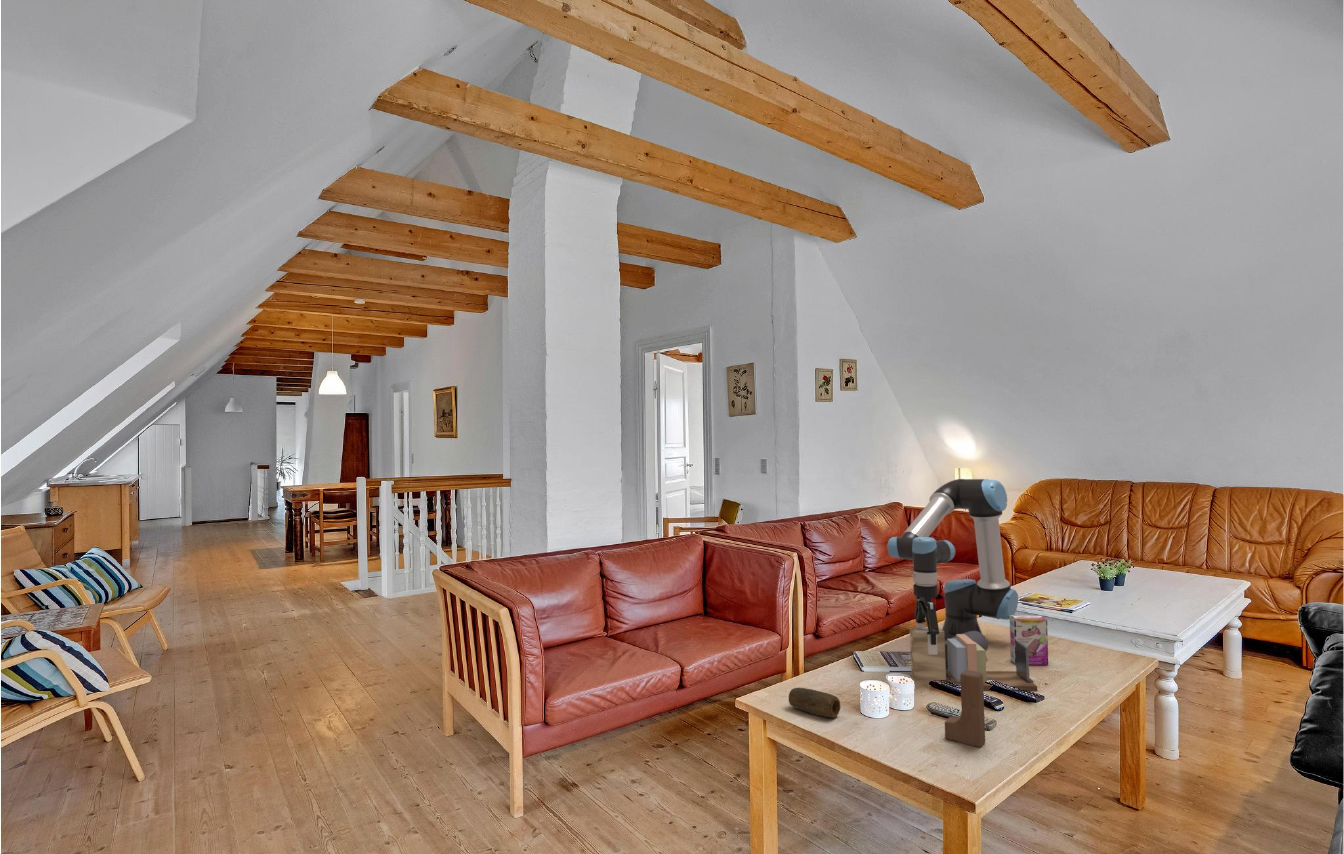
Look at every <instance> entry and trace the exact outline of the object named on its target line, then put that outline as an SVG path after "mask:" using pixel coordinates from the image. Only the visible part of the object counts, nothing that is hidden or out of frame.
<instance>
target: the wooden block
mask: <svg viewBox="0 0 1344 854" xmlns="http://www.w3.org/2000/svg"><path fill="white" fill-rule="evenodd" d="M960 679H961V690H960V697H961V698H960V701H961V702H960V704H961V706H960V707H961V713H960V716H959V717H957V716H949V717H948V718H947V719H946V720H945V721H944V738H945V739H946V740H950V741H953V742H957V743H961V744H965V745H968V746H969V745H970V746H972V747H976V748H977V747H978V748H982V746H983V745H984V744H985V742H986V728H985V727H986V723H985V702H984V700H985V699H984V690H983V674H982V673H981V672H975V671H970V670H965V671H963V672H962V673H961V674H960Z"/></svg>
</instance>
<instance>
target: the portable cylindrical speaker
mask: <svg viewBox="0 0 1344 854" xmlns="http://www.w3.org/2000/svg"><path fill="white" fill-rule="evenodd" d="M788 703H789V705H790V706H792V707H793V708H795V709H798V710H800V711H802V710H803V712H805V711H806V713H809V714H812V713H813V715H816V714H817V716H819V715H820V717H824V718H830V719H831V718H833V719H834V718H837V716H839V713H840V711H841V701H840V699H839V697H837V696H836V695H833V694H831V693H828V692H824V691H820V690H816V689H811V688H806V687H794V688H791V690H790V691H789V693H788Z"/></svg>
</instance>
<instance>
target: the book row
mask: <svg viewBox="0 0 1344 854" xmlns="http://www.w3.org/2000/svg"><path fill="white" fill-rule="evenodd" d="M946 641H947V654H948V668H947V671H948V672H949V673H950V674H951V675H952V676H953V677H954V678H955V679H956V681H957V682H961V679H960V674H961V673H962V672H963V671H965V670H970V671H975V672H981V673H982V674H983V682H986V681H987V678H986V671H987V655H986V654H987V653H986V651H985V650H984V649H983V648H982V647H981V646H979V645H978V644H977V643H976V642H974V641H972V640H971V639H970V638H969V637H967V636H966V635H965V634H956V639H947V640H946Z"/></svg>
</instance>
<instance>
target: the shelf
mask: <svg viewBox="0 0 1344 854" xmlns="http://www.w3.org/2000/svg"><path fill="white" fill-rule="evenodd" d="M986 678H987V680H995V681H997V682H1001V683H1003V684H1007V685H1009V686H1013V687H1015V688H1020V689H1022V690H1027V691H1026V692H1037V691H1038V685H1036V684H1035V683H1027V682H1025V681H1024V680H1023V679H1022V678H1020V677H1019V676H1018V675H1017V674H1016V670H1015V671H1013V670H1011V671H1010V670H986ZM946 680H948V681H949V680H950V681H951V682H953V683H954V684H956V685H958V686H961V682H957V681H956V679H955V678H954V677H953V676H952V675H951V674H950V673H949V672H948V670H946ZM950 681H949V682H950ZM951 682H950V683H951ZM992 686H993V685H990V684H987V683H985V682H983V691H988V690H989V689H990V688H991V687H992Z"/></svg>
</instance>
